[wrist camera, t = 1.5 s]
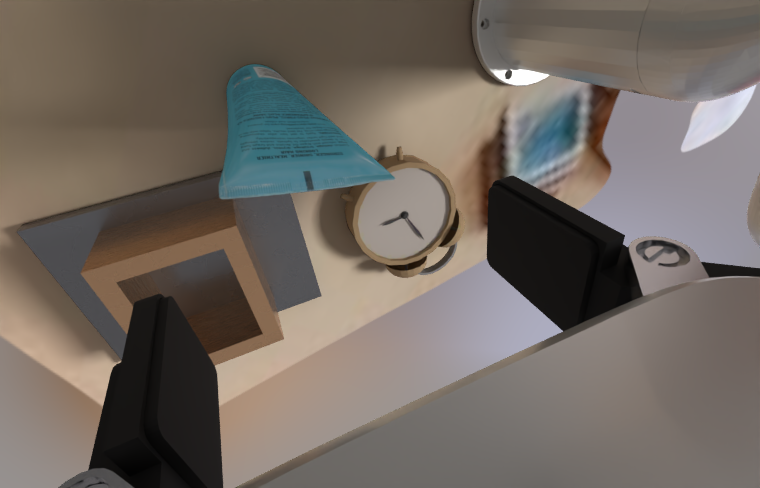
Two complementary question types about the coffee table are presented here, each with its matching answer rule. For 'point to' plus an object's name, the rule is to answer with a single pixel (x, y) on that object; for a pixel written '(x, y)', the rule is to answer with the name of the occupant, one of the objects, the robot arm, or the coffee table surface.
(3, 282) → the coffee table surface
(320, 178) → the tube
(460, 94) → the coffee table surface
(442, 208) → the alarm clock
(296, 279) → the wooden box on base
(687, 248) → the robot arm
